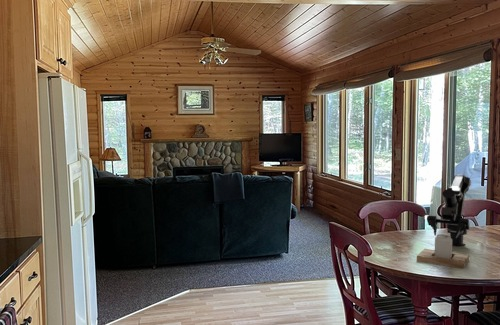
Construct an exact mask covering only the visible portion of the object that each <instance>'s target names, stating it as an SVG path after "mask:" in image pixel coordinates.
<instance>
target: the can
mask: <svg viewBox="0 0 500 325" xmlns="http://www.w3.org/2000/svg"><path fill="white" fill-rule="evenodd" d="M450 237H451V236H450V234H442V233H439V234H436V236H435V238H434V250H435V256H436V257H442V258H449V259H452V253H453V245H452V239H451V238H450Z"/></svg>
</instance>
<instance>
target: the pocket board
mask: <svg viewBox="0 0 500 325" xmlns="http://www.w3.org/2000/svg"><path fill="white" fill-rule="evenodd" d="M469 261H470V255H469V254H463V253H458V252H452V259H449V258H442V257H436V256H435V249H430V248H424V249H422V250H421V251H420V252H419V253H418V254H417V255H416V262H421V263H428V264H434V265H439V266H440V265H441V266H447V267H450V268H451V267H453V268H458V269H464V268H466V267H465V266H466V265H467V264H468V262H469Z"/></svg>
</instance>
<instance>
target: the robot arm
mask: <svg viewBox="0 0 500 325" xmlns="http://www.w3.org/2000/svg"><path fill="white" fill-rule="evenodd" d="M471 182H472V181H471V178H470V177H468V176H466V175H465V174H454V176H453V177H452V184H451V186H449V187H447V188H446V189H444V190H443V191H442V198H443V203H444V206H442V207H441V208H440V209H441V210H440V214H441V215H440V216H441V217H440V218H438V217H437V215H433V214H431V215H430V214H428V215H427V216H426V221H427V224H428V226H430V227H431V228H432V229H433V236H435V237H437V236H436V235H437V231H438V224H445V225H446V228H447V230H446V231H447V234H449V236H451V237H450V238H451V239H452V246H456V247H462V246H466V245H467V244H466V243H464V236H465V235H468V231H469V230H470V228H471V224H470V220H469V218H463V213H464V203H465V196H466V194H467V193H468V191H469V189H470V187H471V185H472V183H471Z"/></svg>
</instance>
